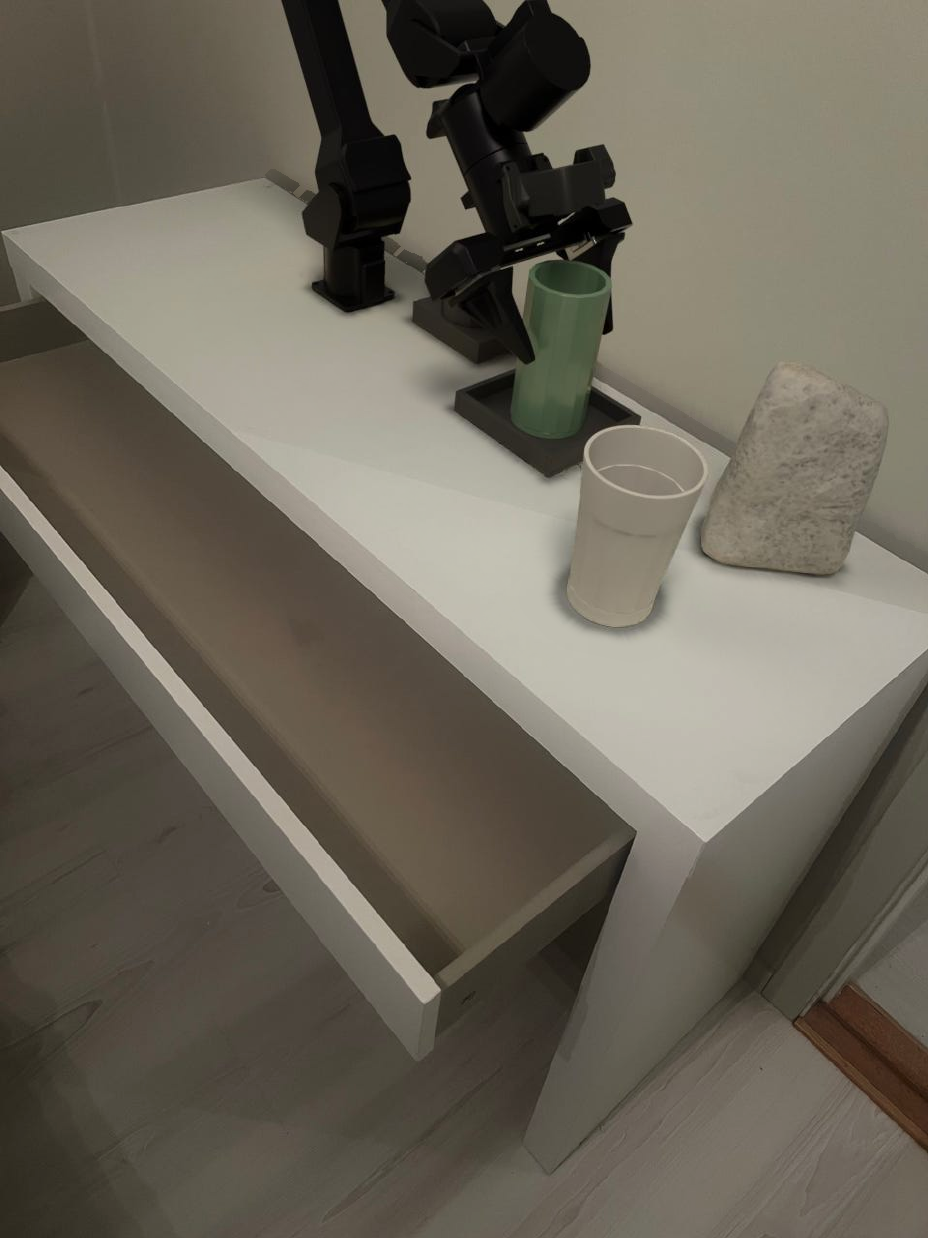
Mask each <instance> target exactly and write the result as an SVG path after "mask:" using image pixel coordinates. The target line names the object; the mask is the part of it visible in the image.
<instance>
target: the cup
mask: <svg viewBox="0 0 928 1238" xmlns="http://www.w3.org/2000/svg"><path fill="white" fill-rule="evenodd" d="M708 477H709V465H708V463H707V461H706V457H704V455H703V454H702V452H700V450H699V449H698V448H696V447H695V446H694V445H693V444H692V443H690V442H689V441H688V440H686V439H685V438H682V437H681V436H679V435H677V434H675V433H672V432H670V431H667V430H664V429H660V428H657V427H652V426H647V425H641V424H640V425H621V426H614V427H610V428H607V429H604V430H601V431H599V432H598V433H596V434H594V435H593V436H592V437H591V438H590V439H589V440H588V442H587V443H586V445H585V448H584V456H583V461H582V466H581V476H580V486H579V487H580V488H579V499H578V500H579V502H578V509H577V518H576V525H575V534H574V542H573V549H572V550H573V551H572V558H571V566H570V572H569V576H568V580H567V585H566V598H567V600H568V602H569V604H570V605H571V607H572V608H573V609H574V611H576V613H578V614H579V615H580V616H582V617H583V618H585V619H586V620H588V621H591V622H592V623H595V624H597V625H601V626H606V627H611V628H625V627H632V626H634V625H637V624H639V623H641V622H643V621H644V620H646V618H648V617H649V615H650V614H651V612H652V609H653V607H654V603H655V600H656V598H657V595H658V592H659V591H660V588H661V585H662V582H663V580H664V578H665V575H666V574H667V572H668V569H669V566H670V564H671V562H672V560H673V557H674V555H675V553H676V550H677V548H678V545H679V543H680V541H681V539H682V536H683V534H684V533H685V532H684V531H685V529H686V527H687V525H688V522H689V520H690V518H691V515H692V514H693V511H694V509H695V506H696V505H697V502H698V500H699V498H700V496H701V494H702V491H703V489H704V487H705V485H706V483H707V480H708Z"/></svg>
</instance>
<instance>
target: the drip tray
mask: <svg viewBox="0 0 928 1238" xmlns="http://www.w3.org/2000/svg"><path fill="white" fill-rule="evenodd" d="M515 369H516V367H514V368H512V369H510V370H509V369H508V370H506V371H504V372H501V373H499V374H496V375H493V376H492V377H491V376H490V377H488V378H486V379H483V380H481V381H478V382H476V383H473V384H470V385H467V386H465V387H462V388H459V389H457V390H455V395H454V407H453V411H454V412H456V413H457V414H458V415H460V416H461V417H463V418H464V419H465V420H467V421H468V422H470V423H471V424H473V425H474V426H475V427H476V428H478V429H479V430H481V431H482V432H483V433H485V434H487V435H488V436H489V437H491V438H492V439H493V440H495V441H496V442H498V443H499V444H500V445H501V446H503V447H504V448H507V450H508V451H509V452H511V453H513V454H514V455H516V456H517V457H519V458H520V459H521V460H523V461H524V462H525V463H528V464H529V465H530V466H531V467H533V468H534V469H536V471H538V472H540V473H541V474H542V475H544V476H545V477H547V479H548V478H551V477H553V476H556V475H558V474H559V473H561V472H563V471H566V470H568V469H570V468H572V467H574V466H576V465H578V464H580V463H583V456H584V448H585V445H586V443H587V442H588V440H589V439H590V438H591V437H592V436H593V435H594V434H596V433H598V432H599V431H601V430H604V429H607V428H610V427H614V426H621V425H640V426H641V421H642V416H641V415H640V414H638V413H636V412H635V411H633V410H632V409H631V408H628V407H627V406H626V405H624V404H623V403H621V402H619V401H618V400H617V399H614V397H613V398H612V397H611V396H609V395H608V394H606V393H605V392H603V391H602V390H600V389H598V388H597V387H595V386H593V385H592V386H591V391H590V395H589V400H588V405H587V410H586V415H585V420H584V422H583V426H582V428H581V429H580V431H579V432H577V433H576V434H574V435H573V436H570V437H567V438H562V439H545V438H539V437H535V436H532V435H529V434H527V433H525V432H523V431H521V430H520V429H518V428H517V427H516V426H515V425H514V424H513V422H512V421H511V419H510V407H511V398H512V391H513V384H514V377H515Z"/></svg>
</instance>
